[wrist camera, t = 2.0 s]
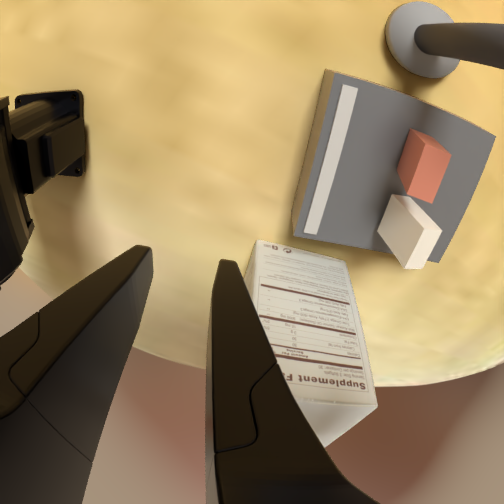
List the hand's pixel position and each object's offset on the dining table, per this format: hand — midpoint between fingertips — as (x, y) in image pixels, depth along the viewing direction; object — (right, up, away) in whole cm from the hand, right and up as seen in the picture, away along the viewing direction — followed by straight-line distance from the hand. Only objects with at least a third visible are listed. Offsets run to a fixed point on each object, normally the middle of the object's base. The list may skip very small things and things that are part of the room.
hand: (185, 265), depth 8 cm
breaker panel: (+11, +6, +11) cm, 16 cm away
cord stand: (+12, +13, +5) cm, 19 cm away
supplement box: (+5, -2, +18) cm, 18 cm away
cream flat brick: (+10, +3, +10) cm, 14 cm away
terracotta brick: (+11, +6, +7) cm, 14 cm away
